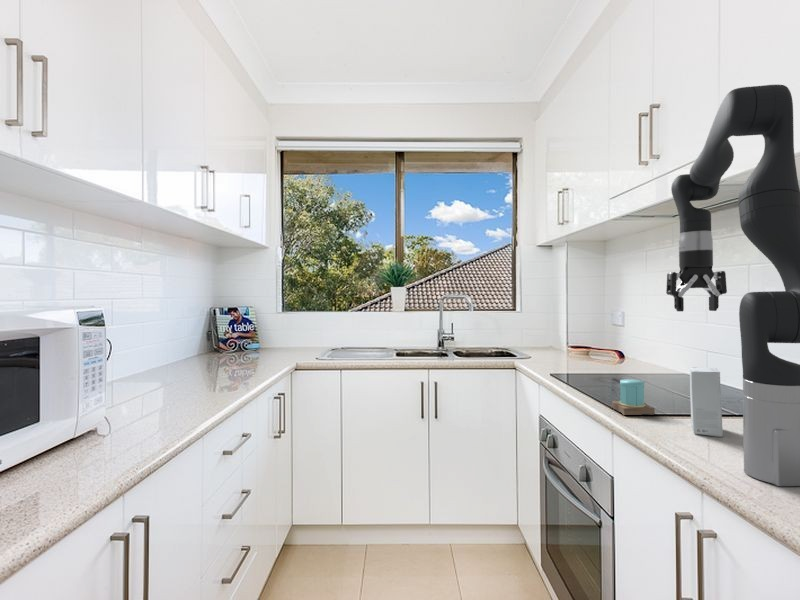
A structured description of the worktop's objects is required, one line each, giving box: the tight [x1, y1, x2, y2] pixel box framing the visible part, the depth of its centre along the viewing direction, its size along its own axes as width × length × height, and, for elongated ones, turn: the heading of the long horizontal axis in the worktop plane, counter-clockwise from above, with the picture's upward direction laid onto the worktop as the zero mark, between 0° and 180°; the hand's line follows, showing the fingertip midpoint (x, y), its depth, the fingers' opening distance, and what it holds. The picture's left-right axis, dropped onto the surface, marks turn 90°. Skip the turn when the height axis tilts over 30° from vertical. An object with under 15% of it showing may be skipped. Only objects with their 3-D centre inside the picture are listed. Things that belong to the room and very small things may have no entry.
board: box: [611, 400, 656, 416], centre depth 128 cm, size 8×8×6 cm
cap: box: [619, 378, 645, 406], centre depth 128 cm, size 6×6×6 cm
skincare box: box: [689, 367, 724, 438], centre depth 110 cm, size 8×6×15 cm
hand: (696, 311), depth 122 cm, fingers open, 8 cm apart
